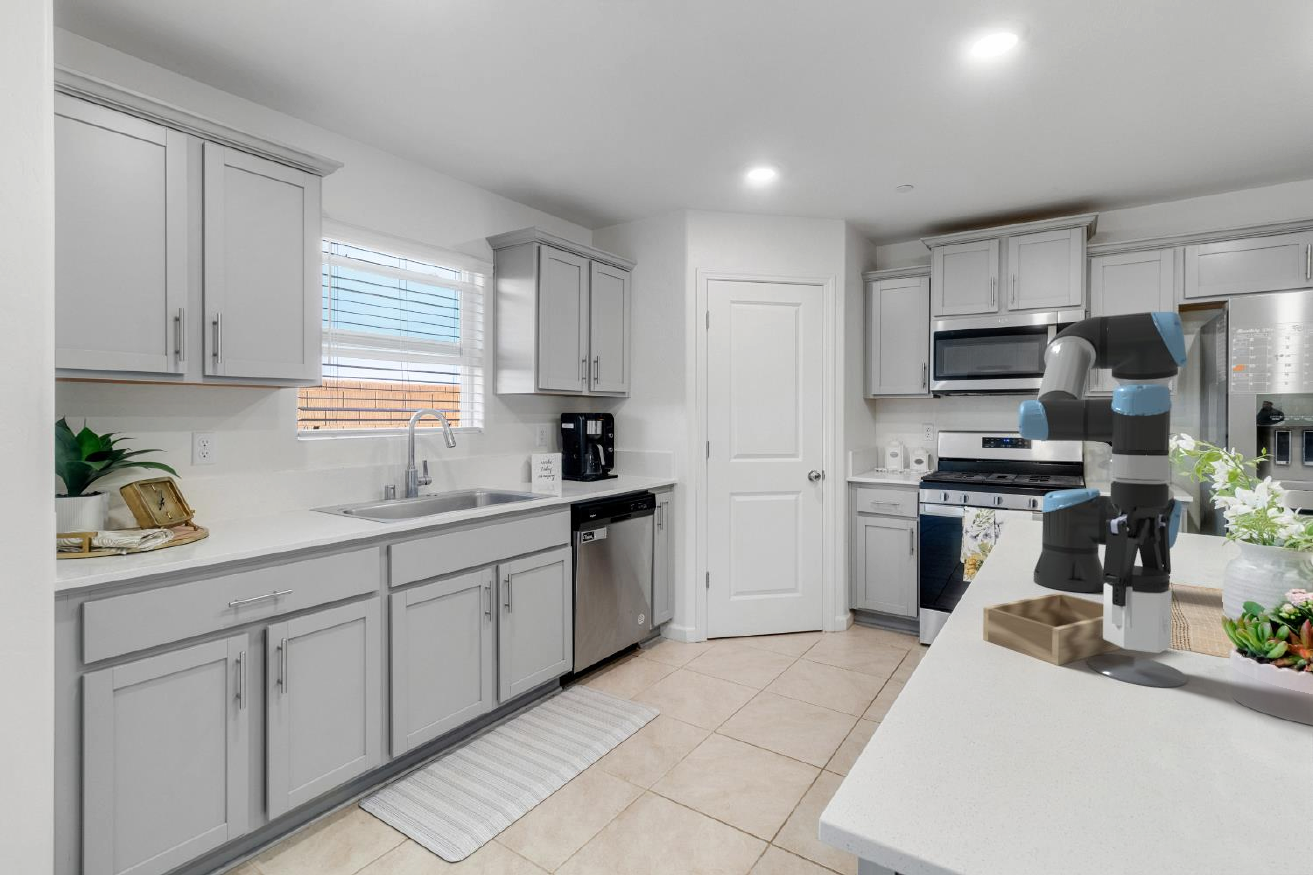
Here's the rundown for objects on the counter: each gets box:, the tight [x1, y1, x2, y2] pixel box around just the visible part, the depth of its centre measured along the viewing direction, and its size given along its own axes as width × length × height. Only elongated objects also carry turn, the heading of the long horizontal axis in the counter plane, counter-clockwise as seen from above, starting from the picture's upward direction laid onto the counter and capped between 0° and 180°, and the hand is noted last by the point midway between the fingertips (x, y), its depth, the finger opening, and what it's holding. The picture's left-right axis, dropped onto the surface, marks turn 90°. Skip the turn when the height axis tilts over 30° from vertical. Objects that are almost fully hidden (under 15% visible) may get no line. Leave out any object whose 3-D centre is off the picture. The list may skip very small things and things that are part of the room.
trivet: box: [1087, 653, 1188, 688], centre depth 106 cm, size 13×13×1 cm
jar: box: [1102, 564, 1173, 654], centre depth 106 cm, size 9×8×12 cm
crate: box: [982, 592, 1122, 666], centre depth 119 cm, size 22×14×6 cm, turn 116°
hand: (1136, 621), depth 106 cm, fingers closed on jar, 7 cm apart
